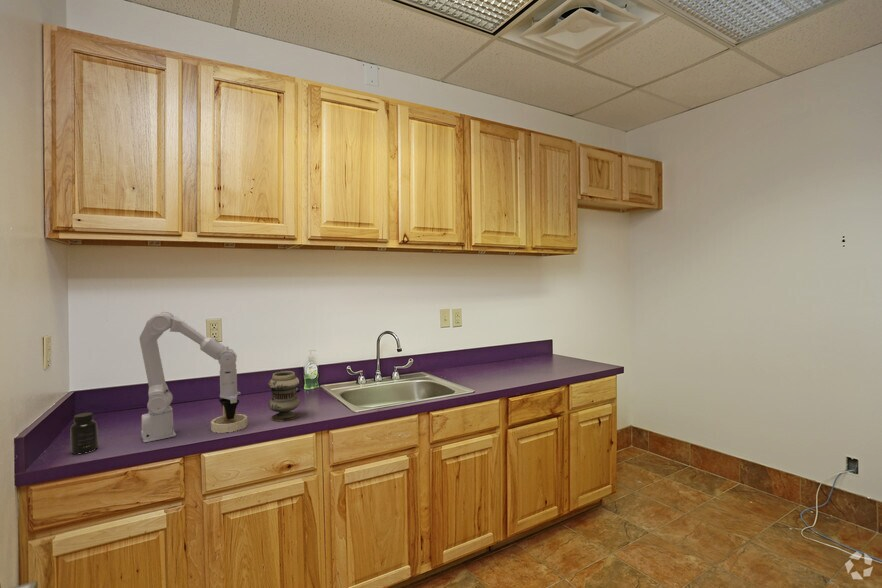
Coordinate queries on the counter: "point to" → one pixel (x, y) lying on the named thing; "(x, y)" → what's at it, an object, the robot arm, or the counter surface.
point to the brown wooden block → (226, 417)
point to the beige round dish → (229, 424)
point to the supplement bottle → (84, 433)
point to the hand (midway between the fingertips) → (229, 417)
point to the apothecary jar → (284, 395)
